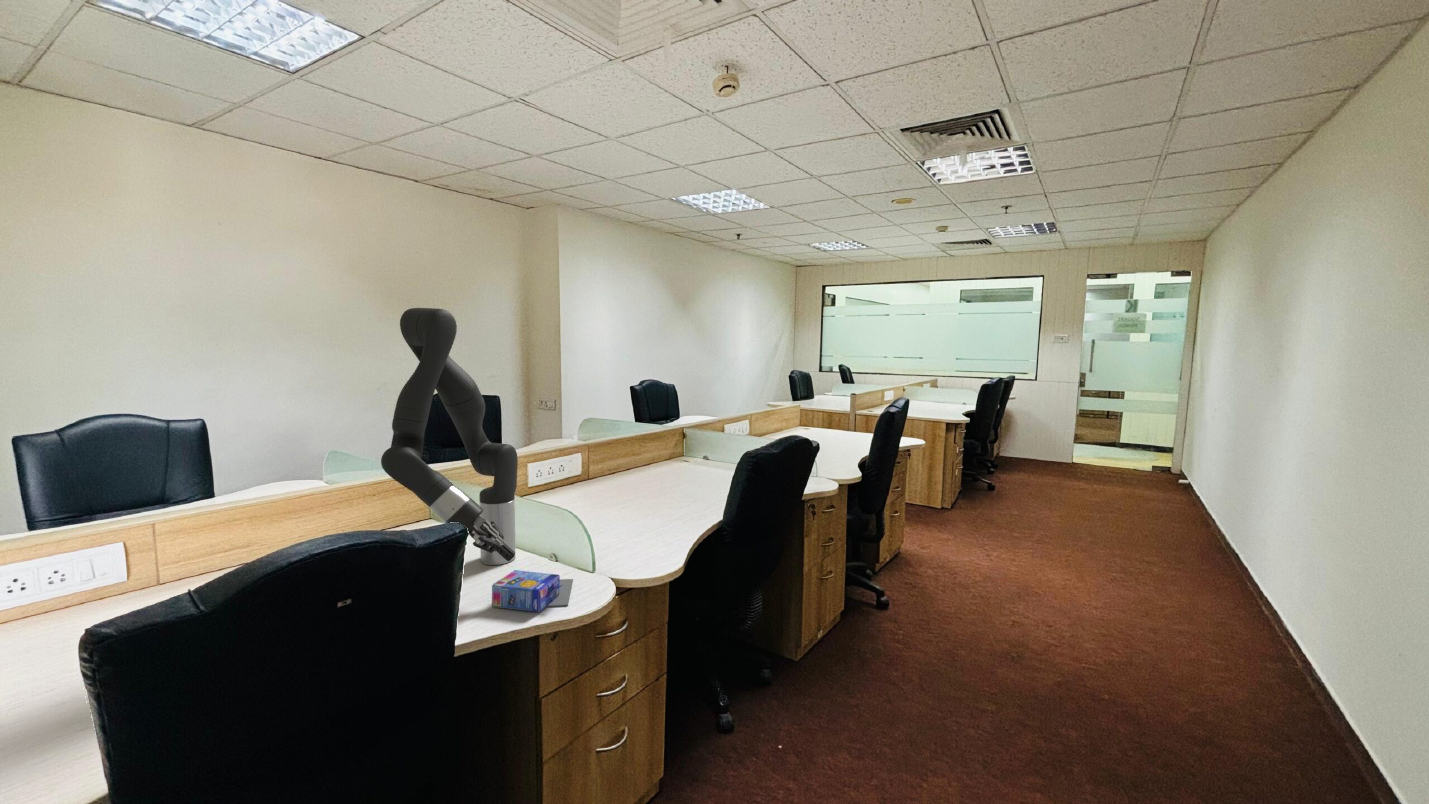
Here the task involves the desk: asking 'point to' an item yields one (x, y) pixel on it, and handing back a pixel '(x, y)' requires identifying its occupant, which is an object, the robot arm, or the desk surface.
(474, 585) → the desk surface
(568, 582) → the mat
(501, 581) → the ink cartridge box
